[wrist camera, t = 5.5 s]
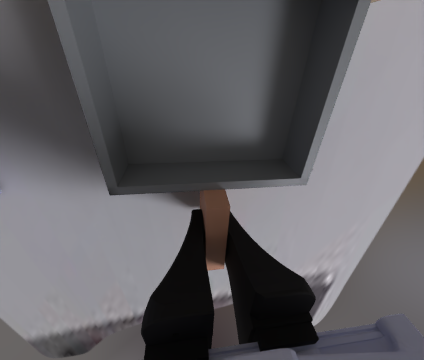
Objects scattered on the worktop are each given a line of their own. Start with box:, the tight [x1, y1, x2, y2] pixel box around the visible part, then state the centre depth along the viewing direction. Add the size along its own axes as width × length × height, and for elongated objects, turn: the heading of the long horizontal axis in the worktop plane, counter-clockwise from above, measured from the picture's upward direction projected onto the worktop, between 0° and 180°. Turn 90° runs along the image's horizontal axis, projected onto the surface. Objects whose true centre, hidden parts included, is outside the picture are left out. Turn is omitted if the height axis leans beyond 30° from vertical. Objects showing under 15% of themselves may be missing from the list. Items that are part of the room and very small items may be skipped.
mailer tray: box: [47, 0, 371, 270], centre depth 9 cm, size 20×11×4 cm, turn 178°
